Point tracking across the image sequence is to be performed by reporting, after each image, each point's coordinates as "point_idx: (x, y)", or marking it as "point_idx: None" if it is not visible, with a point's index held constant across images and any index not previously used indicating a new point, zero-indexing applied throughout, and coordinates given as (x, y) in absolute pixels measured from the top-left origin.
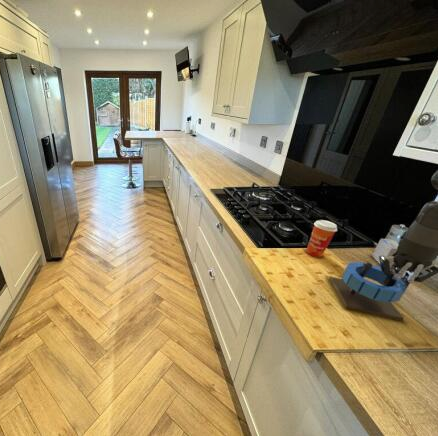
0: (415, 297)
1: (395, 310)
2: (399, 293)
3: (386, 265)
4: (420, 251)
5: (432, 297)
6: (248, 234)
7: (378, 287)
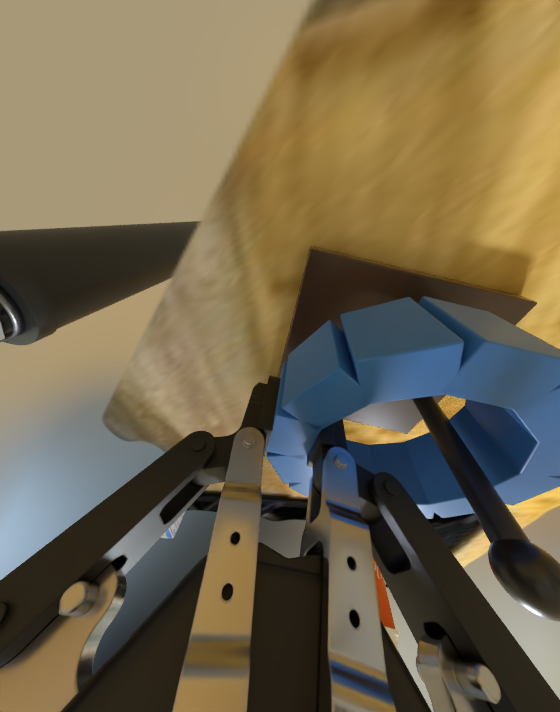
0: (174, 369)
1: (308, 296)
2: (400, 340)
3: (493, 634)
4: None
5: (127, 371)
6: (468, 536)
7: None
